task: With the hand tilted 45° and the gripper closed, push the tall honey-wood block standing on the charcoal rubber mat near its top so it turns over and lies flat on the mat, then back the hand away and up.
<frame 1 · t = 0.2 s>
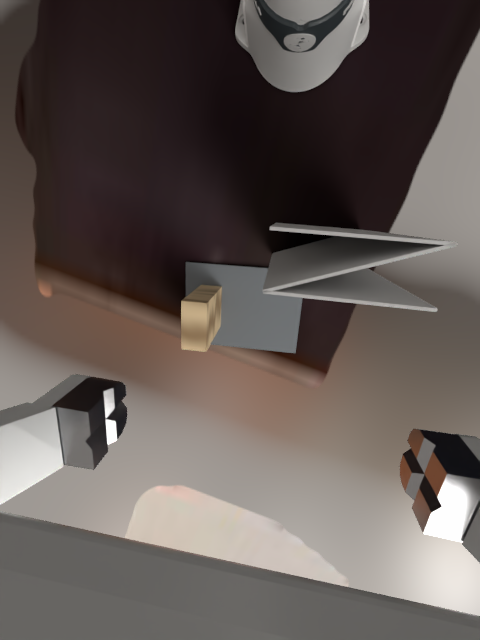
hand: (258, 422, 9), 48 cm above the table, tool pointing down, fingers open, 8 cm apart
brochure: (314, 242, 53), on the table
wood block: (211, 306, 58), point 1 cm above the table, touching rubber mat
rubber mat: (242, 307, 58), on the table
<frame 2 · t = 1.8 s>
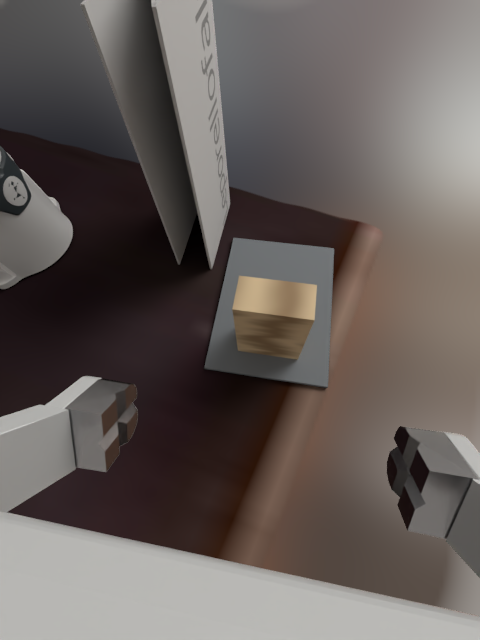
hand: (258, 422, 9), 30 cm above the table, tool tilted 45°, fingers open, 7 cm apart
brochure: (205, 233, 51), on the table
wood block: (269, 341, 41), point 1 cm above the table, touching rubber mat
rubber mat: (274, 304, 44), on the table
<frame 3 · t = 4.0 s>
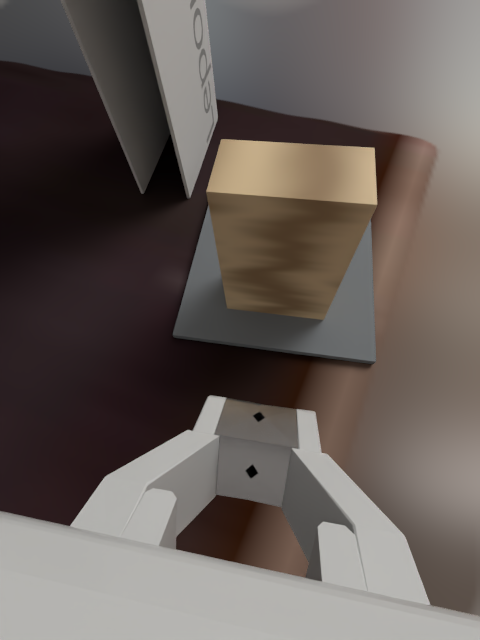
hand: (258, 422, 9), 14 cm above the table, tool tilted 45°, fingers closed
brochure: (182, 154, 36), on the table
wood block: (277, 293, 26), point 1 cm above the table, touching rubber mat
rubber mat: (283, 243, 29), on the table
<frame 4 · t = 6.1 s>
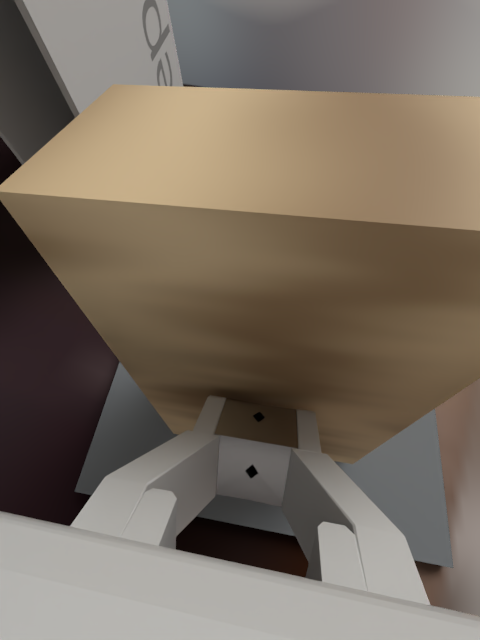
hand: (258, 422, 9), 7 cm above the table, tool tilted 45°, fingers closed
brochure: (134, 161, 25), on the table
wood block: (265, 404, 15), point 1 cm above the table, tilted 9°, touching gripper, rubber mat
rubber mat: (277, 306, 18), on the table
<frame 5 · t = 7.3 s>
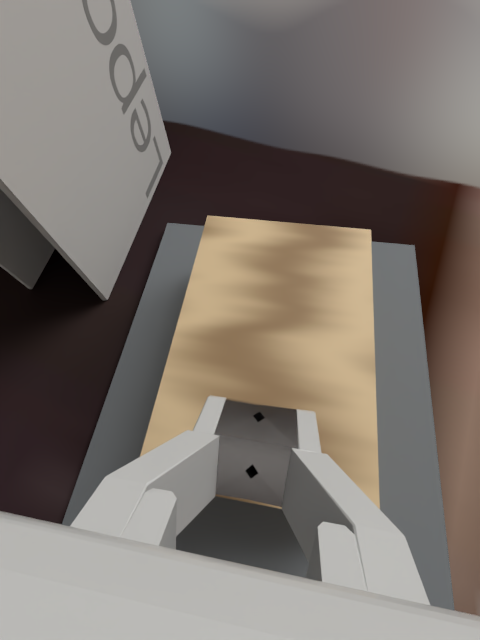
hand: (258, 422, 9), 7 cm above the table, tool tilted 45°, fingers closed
brochure: (109, 214, 22), on the table
wood block: (251, 497, 11), point 3 cm above the table, tilted 90°, touching rubber mat
rubber mat: (263, 406, 15), on the table
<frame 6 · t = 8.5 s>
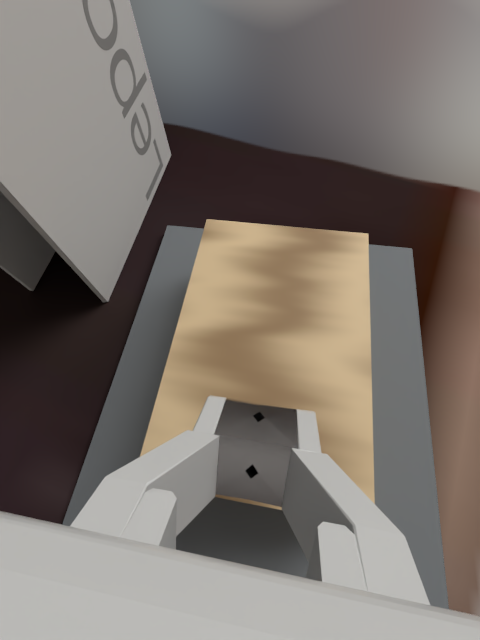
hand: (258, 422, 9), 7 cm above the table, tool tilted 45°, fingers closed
brochure: (109, 217, 22), on the table
wood block: (249, 498, 12), point 3 cm above the table, tilted 90°, touching rubber mat
rubber mat: (261, 407, 16), on the table
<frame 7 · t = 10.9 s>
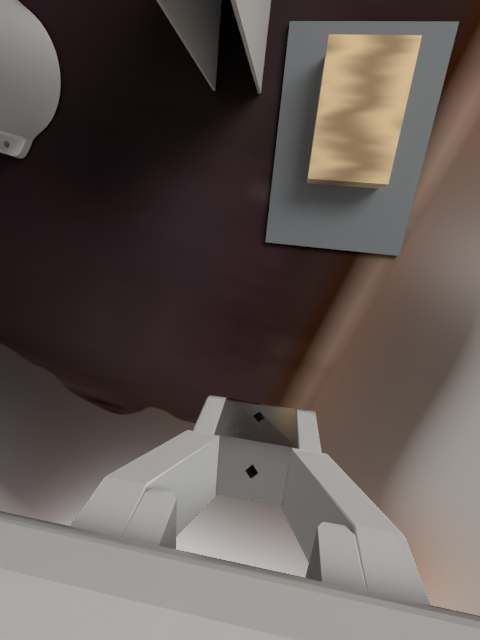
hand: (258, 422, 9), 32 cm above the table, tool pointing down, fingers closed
brochure: (243, 13, 32), on the table
wood block: (344, 183, 33), point 3 cm above the table, tilted 90°, touching rubber mat
rubber mat: (347, 148, 34), on the table
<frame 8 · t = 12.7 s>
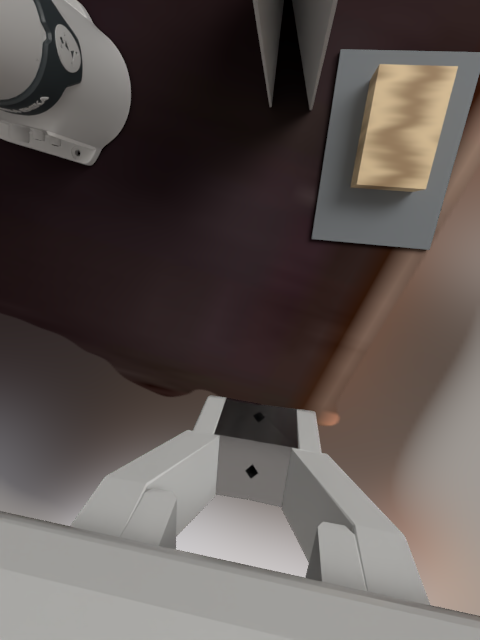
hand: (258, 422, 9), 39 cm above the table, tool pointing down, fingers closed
brochure: (299, 41, 37), on the table
wood block: (385, 188, 38), point 3 cm above the table, tilted 90°, touching rubber mat
rubber mat: (386, 157, 39), on the table
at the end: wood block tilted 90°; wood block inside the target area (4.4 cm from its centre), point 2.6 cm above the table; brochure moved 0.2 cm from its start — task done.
